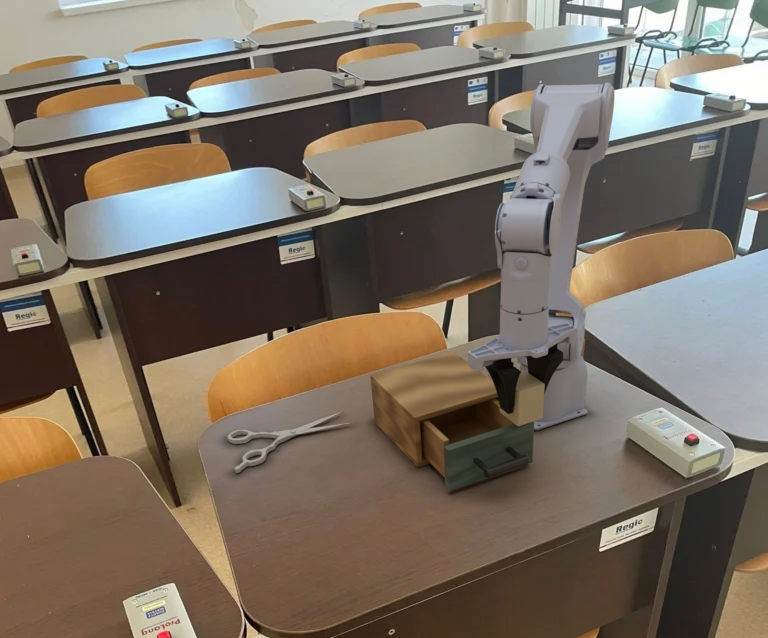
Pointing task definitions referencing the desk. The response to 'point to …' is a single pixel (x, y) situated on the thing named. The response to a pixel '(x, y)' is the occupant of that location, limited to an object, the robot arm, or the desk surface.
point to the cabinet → (424, 397)
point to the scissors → (280, 438)
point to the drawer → (475, 443)
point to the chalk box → (527, 400)
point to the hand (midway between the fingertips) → (520, 405)
